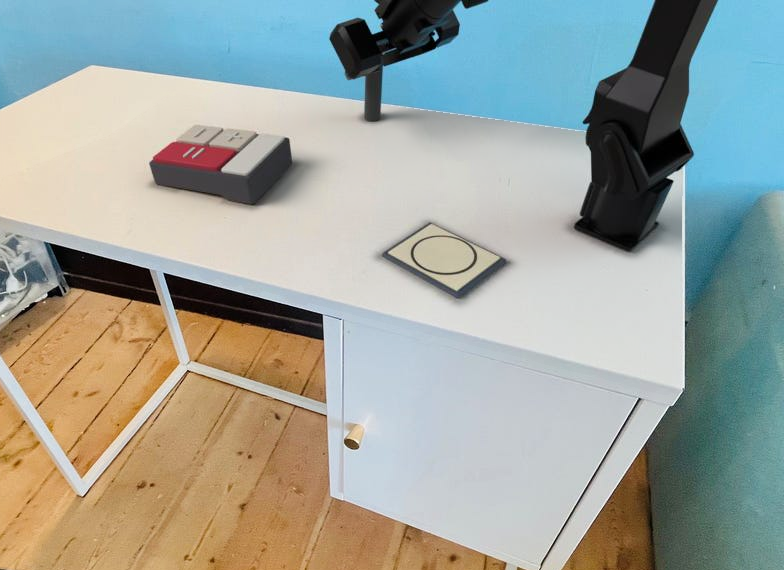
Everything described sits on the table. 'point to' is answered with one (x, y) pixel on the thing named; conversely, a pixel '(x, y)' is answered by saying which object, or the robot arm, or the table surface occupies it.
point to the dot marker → (373, 94)
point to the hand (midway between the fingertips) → (365, 69)
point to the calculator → (223, 162)
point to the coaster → (444, 259)
